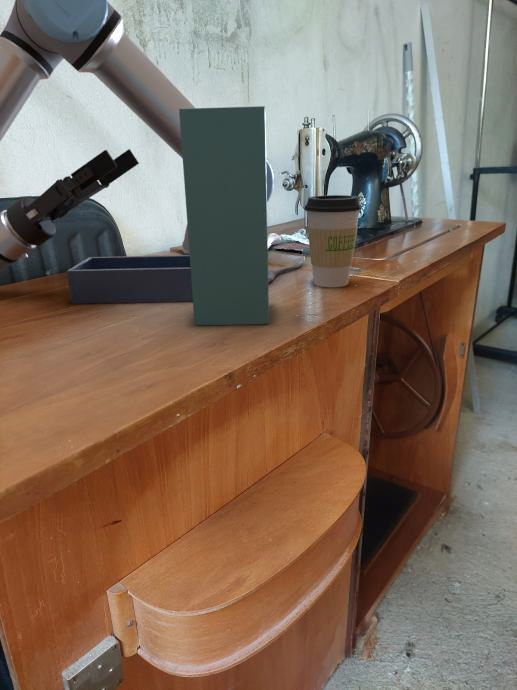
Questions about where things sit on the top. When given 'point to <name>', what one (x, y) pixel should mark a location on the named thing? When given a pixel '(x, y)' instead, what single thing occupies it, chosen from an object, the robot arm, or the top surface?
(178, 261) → the tray
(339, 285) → the coffee cup
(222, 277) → the teal stand
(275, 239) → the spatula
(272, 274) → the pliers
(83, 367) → the top surface
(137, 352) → the top surface
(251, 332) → the top surface
